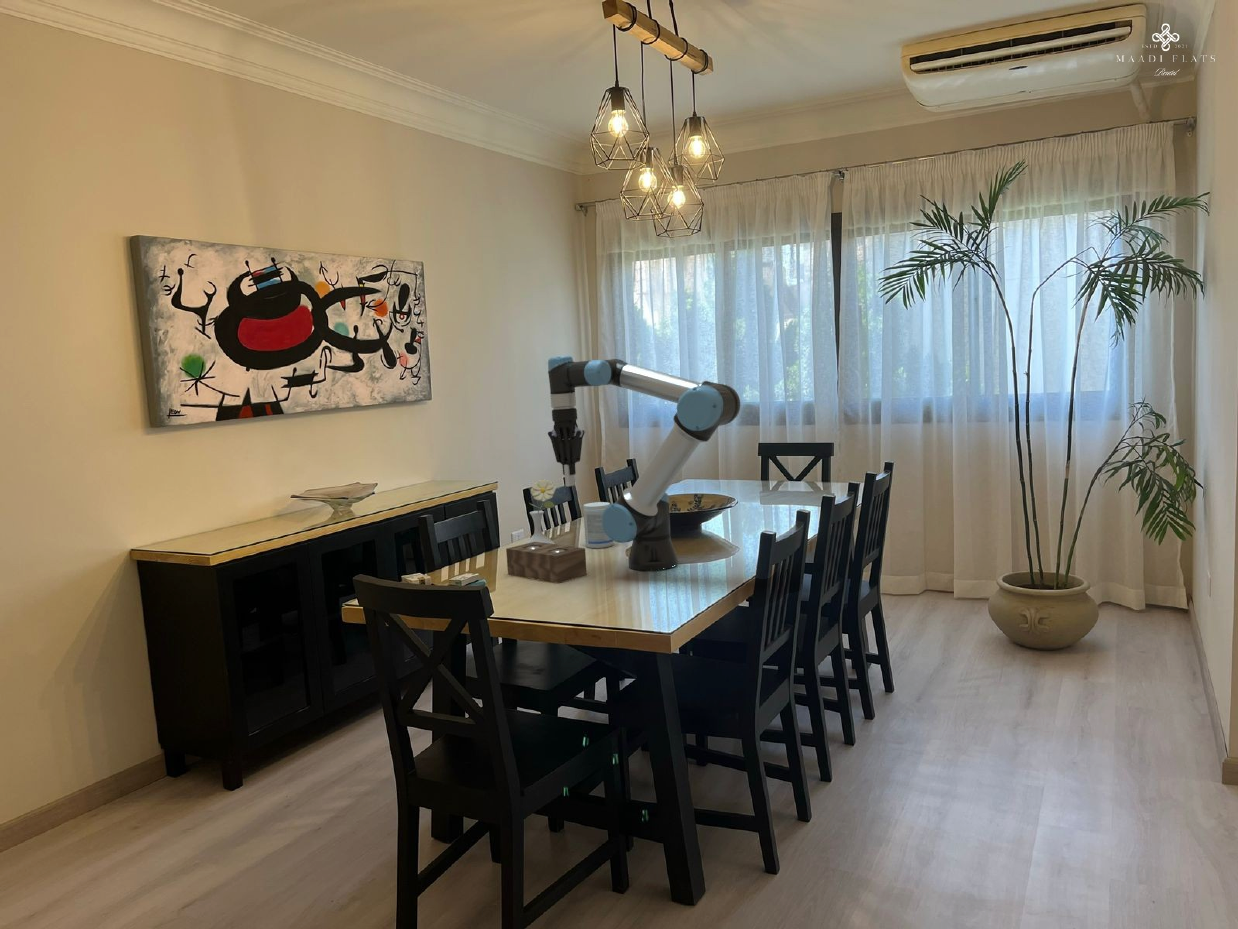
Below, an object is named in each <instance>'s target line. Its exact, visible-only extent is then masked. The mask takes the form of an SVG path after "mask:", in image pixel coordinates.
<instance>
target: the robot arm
mask: <svg viewBox="0 0 1238 929" xmlns="http://www.w3.org/2000/svg"><path fill="white" fill-rule="evenodd" d="M547 366H548V370H547V374H548V379H549V390H550V392H549V393H550V405H551V406H550V407H551V408H552V410H551V419H552V422H553V424H554V425H553V429H552V430H551V431H548V432H547V435H548V437H549V439H550V442H551V445H552V449H553V453H554V456H555V461H556V462H557V463H560V464H561V465H562V466H561V467H562V474H563V476H564V481H565V482H564V483H565V484H564V485H565V487H573V486H575V485H576V480H575V478H576V477H575V475H576V471H577V470H576V463H579V462H580V461H581V458H582V457H581V455H582V445H583V439H584V436H585V433H586V431H585V430H583V429H582V430H581V429H580V428H579V425H578V424H577V420H578V410H577V407H576V406H577V397H576V388H581V387H582V388H583V387H584V388H585V387H601V386H608V385H611V386H615V387H619V388H623V389H626V390H630V391H632V392H633V391H634V392H637V393H639V394H640V393H641V394H643V395H646V396H651V397H653V398H658V399H661V400H663V401H668V402H672V403H674V404H676V412H675V414H674V416H673V418H672V419H673V420H672V421H673V424H674V425H673V427H672V428H671V430H670V431H669V432H668V434H667V436H666V438H665V439H664V440H663V442H662V443H661V445H660V446H659V448H658V449H657V450H656V452H655V453H654V455H653V456H652V458H651V459H650V461H648V463H647V465H646V467H645V468H644V470H643V471H642V473H640V475H639V477H638V478H637V480H636V481H635V483H634V484H633V486H632V487H627V488H624V490H623V491H622V493H621V494H620V495H619V497H618V499H616V501H615V502H614V503H610V505H609V506H608V507H607V508H606V509H605V510H604V511H603V514H602V525H603V529H604V531H605V533H606V535H607V536H608V537H609V538H610V539H611V540H613V542H615V543H618V544H624V543H630V542H631V543H632V545H631V546H630V552H629V557H628V559H627V560H628V561H627V563H628V568H629V569H631V570H636V571H644V570H653V571H659V570H658V569H663V568H669V569H671V568H670V567H672V566H674V565H677V563H679V562H678V555H677V554H676V551H675V548H674V545H673V542H672V540H671V539H672V537H671V517H670V515H671V514H670V513H671V512H670V504H671V503H670V500H669V494H668V493H667V491H668V489H669V488H670V486H671V485H672V484H673V482H674V480H675V479H676V478H677V476H678V475H679V473H680V472H681V471H682V469H683V467H684V466H685V465H686V463H687V462H688V461H689V459H690V458H691V457H692V455H693V453H694V452H695V451H696V449H697V447H698V446H699V445H700V444H701V443H707V442H709V441H710V439H711V438H712V436H713V434H714V433H715V431H716V430H717V429H718V428H719V427H721V426H725V425H728V424H730V423H731V422H733V421H734V420H735V419H736V418H737V417H738V415H739V413H740V410H741V399H740V396H739V394H738V393H737V391H736V389H734V388H733V387H731V386H730V385H727V384H724V383H717V382H713V381H707V380H703V381H702V382H698V381H694V380H690V379H688V378H687V379H686V378H683V377H680V376H675V375H672V374H669V373H664V372H661V371H657V370H654V369H650V368H646V367H642V366H639V365H635V364H631V363H628V362H627V361H626V360H624V359H620V358H619V359H618V358H611V359H591V360H581V361H574V360H573V357H572V356H571V355H560V356H553V357H552V356H551V357H549V359H548V361H547ZM677 566H678V565H677ZM672 568H673V567H672ZM663 570H664V569H663Z"/></svg>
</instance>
